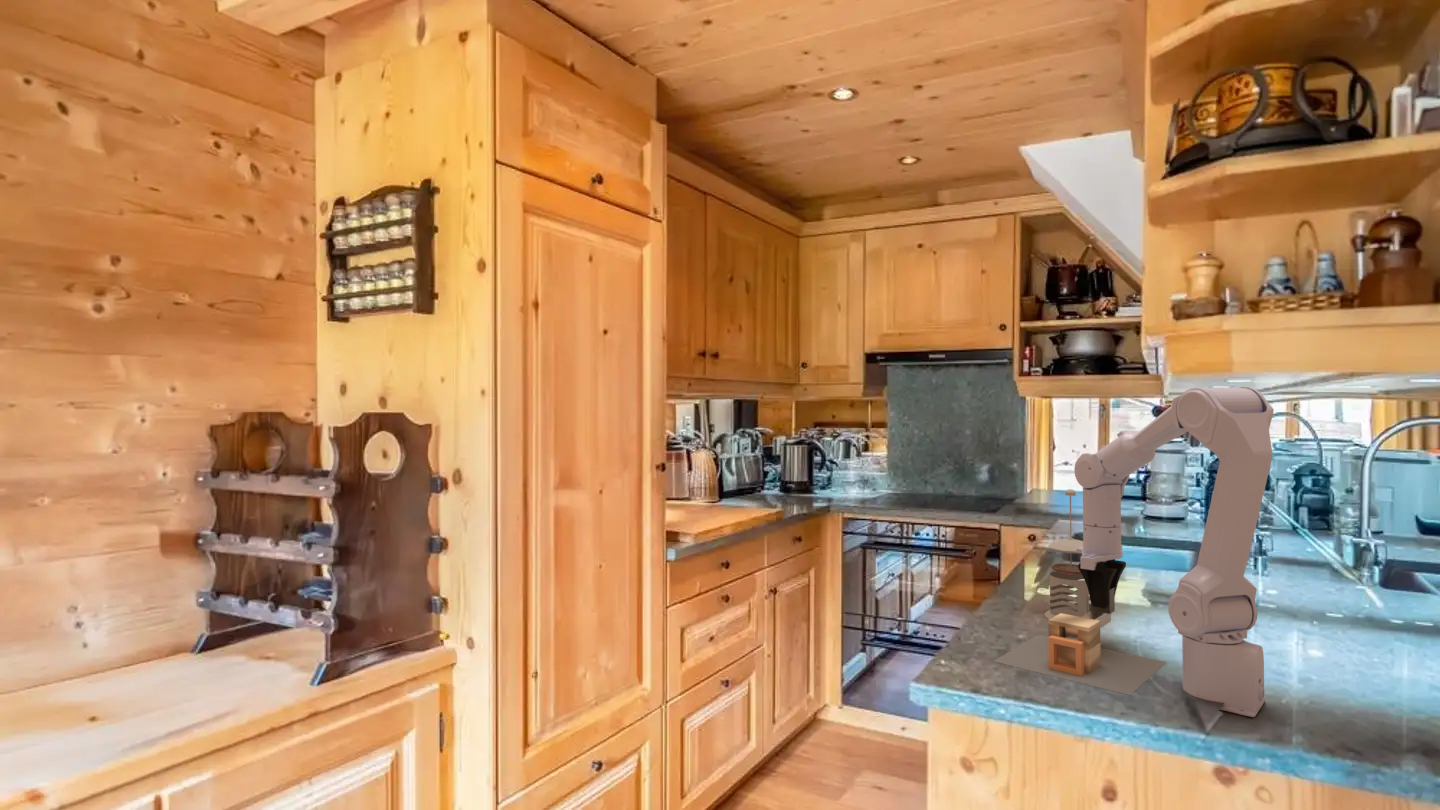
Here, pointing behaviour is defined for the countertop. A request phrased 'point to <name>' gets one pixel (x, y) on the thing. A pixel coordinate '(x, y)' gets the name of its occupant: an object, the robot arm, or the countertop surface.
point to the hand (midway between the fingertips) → (1102, 605)
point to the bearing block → (1086, 633)
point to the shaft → (1096, 615)
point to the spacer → (1059, 666)
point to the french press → (1067, 580)
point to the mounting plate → (1112, 674)
